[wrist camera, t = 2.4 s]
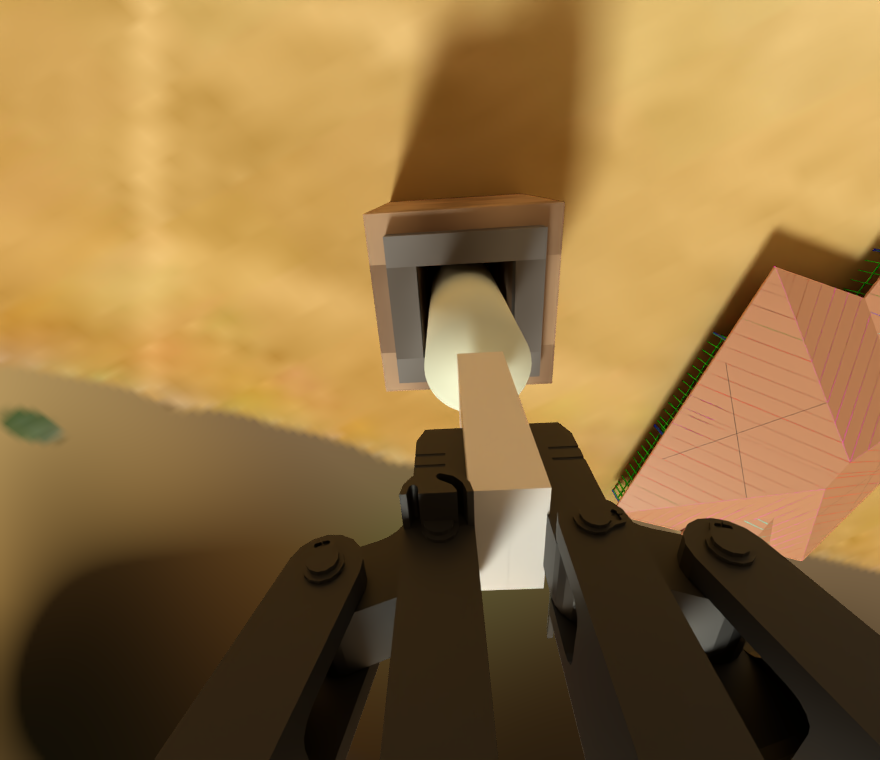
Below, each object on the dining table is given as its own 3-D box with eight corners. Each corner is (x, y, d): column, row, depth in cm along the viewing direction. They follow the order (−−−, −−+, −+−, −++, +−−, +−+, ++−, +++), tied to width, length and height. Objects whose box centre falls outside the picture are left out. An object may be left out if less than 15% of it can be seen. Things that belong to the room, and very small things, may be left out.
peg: (494, 254, 25) (533, 312, 14) (494, 317, 27) (529, 410, 16) (429, 258, 25) (420, 318, 14) (433, 320, 27) (428, 415, 16)
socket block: (521, 193, 31) (570, 203, 19) (518, 320, 35) (556, 391, 24) (390, 201, 31) (359, 216, 19) (403, 326, 36) (384, 399, 24)
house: (588, 510, 45) (617, 573, 38) (781, 201, 31) (884, 208, 24) (764, 553, 48) (821, 620, 41) (1012, 288, 34) (1166, 318, 27)
